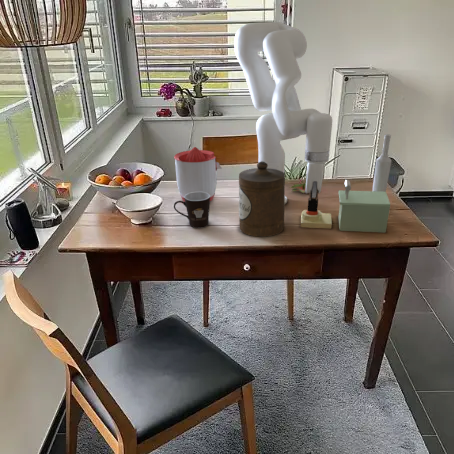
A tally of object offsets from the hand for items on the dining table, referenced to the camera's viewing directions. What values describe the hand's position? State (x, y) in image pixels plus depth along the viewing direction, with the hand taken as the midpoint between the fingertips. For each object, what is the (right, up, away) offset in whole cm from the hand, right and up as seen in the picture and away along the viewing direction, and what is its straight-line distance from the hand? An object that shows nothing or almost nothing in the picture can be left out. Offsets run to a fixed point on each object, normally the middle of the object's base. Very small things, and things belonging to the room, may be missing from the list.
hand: (312, 210), depth 159 cm
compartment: (+16, -5, 0) cm, 17 cm away
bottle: (+26, +4, +14) cm, 30 cm away
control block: (+2, -4, +2) cm, 5 cm away
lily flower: (+2, +14, +30) cm, 33 cm away
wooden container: (-17, -6, -1) cm, 18 cm away
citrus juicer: (-39, +8, +23) cm, 46 cm away
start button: (0, -2, +1) cm, 2 cm away
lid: (+16, +3, -5) cm, 17 cm away
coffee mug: (-40, -4, +4) cm, 40 cm away
